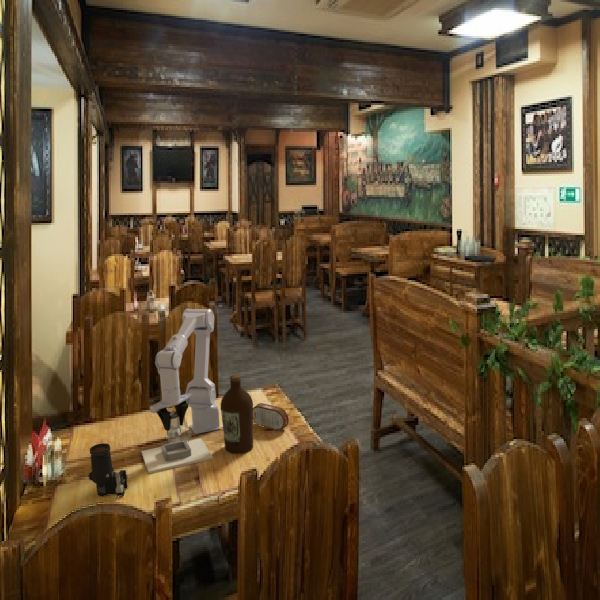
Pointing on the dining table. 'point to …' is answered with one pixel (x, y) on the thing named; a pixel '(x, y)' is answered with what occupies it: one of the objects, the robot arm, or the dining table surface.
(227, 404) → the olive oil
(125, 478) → the black camera
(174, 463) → the mount plate
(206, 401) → the robot arm
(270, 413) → the tin
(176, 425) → the lens
